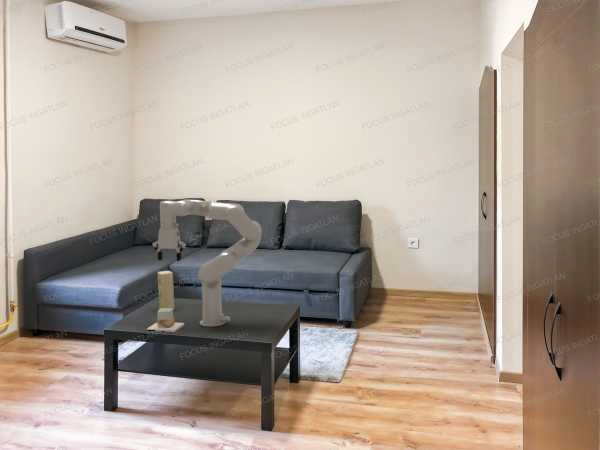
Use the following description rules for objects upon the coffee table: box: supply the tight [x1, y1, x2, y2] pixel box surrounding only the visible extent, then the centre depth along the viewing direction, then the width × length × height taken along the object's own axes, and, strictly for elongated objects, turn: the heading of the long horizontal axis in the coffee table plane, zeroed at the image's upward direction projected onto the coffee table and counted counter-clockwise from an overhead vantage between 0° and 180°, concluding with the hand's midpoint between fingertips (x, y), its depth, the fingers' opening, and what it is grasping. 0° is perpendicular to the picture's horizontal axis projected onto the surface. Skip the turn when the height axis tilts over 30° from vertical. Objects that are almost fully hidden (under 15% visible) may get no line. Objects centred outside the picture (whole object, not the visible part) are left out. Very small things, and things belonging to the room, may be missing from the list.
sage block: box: [157, 308, 174, 320], centre depth 274 cm, size 6×6×4 cm
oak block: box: [156, 315, 175, 328], centre depth 275 cm, size 6×6×4 cm
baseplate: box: [146, 322, 185, 333], centre depth 275 cm, size 14×12×1 cm
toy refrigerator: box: [157, 270, 175, 312], centre depth 307 cm, size 8×7×21 cm
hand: (169, 260), depth 278 cm, fingers open, 9 cm apart
